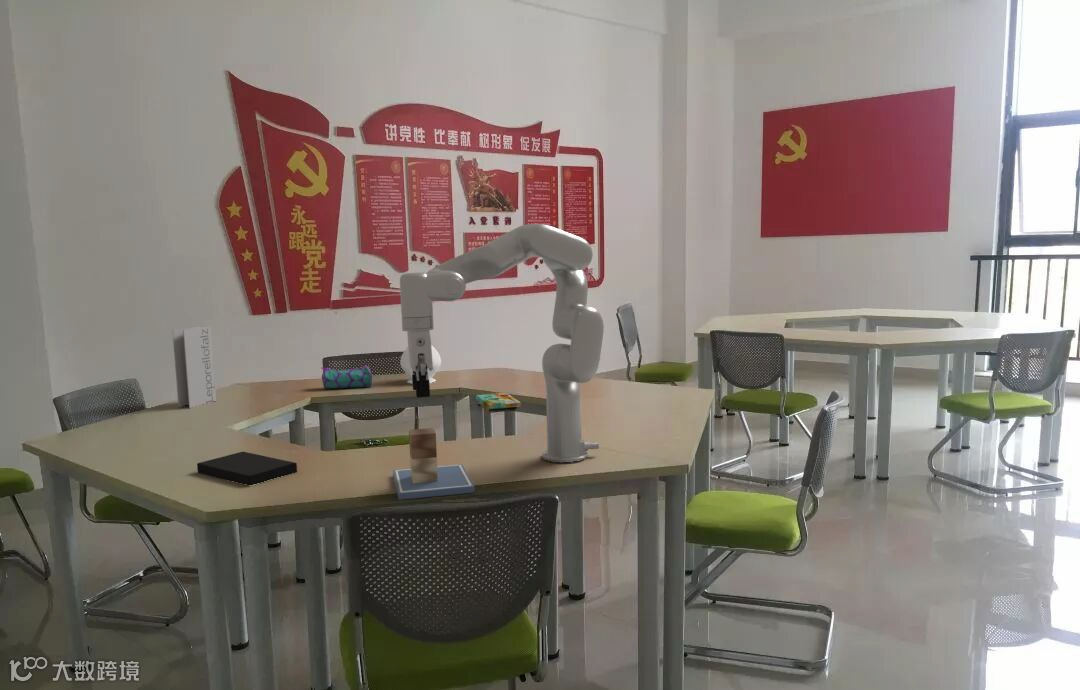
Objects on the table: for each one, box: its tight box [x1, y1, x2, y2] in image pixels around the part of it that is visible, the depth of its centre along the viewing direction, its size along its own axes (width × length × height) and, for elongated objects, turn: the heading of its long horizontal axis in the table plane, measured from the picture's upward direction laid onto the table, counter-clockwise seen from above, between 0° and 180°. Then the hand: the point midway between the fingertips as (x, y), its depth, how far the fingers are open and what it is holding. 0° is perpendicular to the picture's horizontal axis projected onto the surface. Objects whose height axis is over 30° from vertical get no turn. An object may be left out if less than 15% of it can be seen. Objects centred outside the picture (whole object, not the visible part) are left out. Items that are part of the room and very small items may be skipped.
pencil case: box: [321, 364, 373, 390], centre depth 331 cm, size 21×9×10 cm, turn 104°
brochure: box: [171, 325, 217, 409], centre depth 300 cm, size 14×6×30 cm, turn 161°
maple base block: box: [409, 454, 438, 483], centre depth 191 cm, size 6×6×6 cm
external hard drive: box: [196, 451, 298, 486], centre depth 206 cm, size 14×23×3 cm, turn 56°
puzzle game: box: [475, 392, 522, 414], centre depth 282 cm, size 12×5×20 cm
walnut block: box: [408, 427, 438, 459], centre depth 191 cm, size 6×6×6 cm
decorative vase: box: [399, 333, 442, 385], centre depth 341 cm, size 18×18×25 cm
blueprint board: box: [392, 463, 475, 501], centre depth 192 cm, size 18×20×2 cm
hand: (421, 393), depth 189 cm, fingers open, 9 cm apart
